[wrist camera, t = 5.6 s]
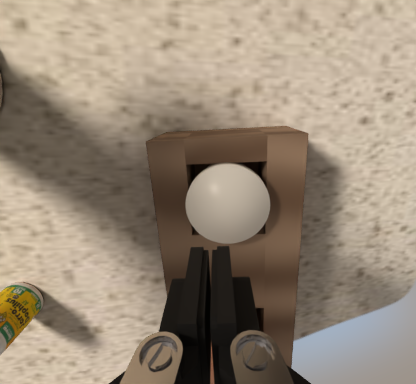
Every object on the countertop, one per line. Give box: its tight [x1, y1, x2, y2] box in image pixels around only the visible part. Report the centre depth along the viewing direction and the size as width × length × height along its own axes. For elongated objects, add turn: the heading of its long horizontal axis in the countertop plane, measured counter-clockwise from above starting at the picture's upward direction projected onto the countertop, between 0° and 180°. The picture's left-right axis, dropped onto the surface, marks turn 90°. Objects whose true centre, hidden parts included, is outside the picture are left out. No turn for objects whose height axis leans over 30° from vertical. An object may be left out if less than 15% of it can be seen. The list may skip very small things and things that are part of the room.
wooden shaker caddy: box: [146, 126, 308, 368], centre depth 26 cm, size 24×12×7 cm, turn 3°
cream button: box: [185, 162, 270, 244], centre depth 22 cm, size 6×6×6 cm
